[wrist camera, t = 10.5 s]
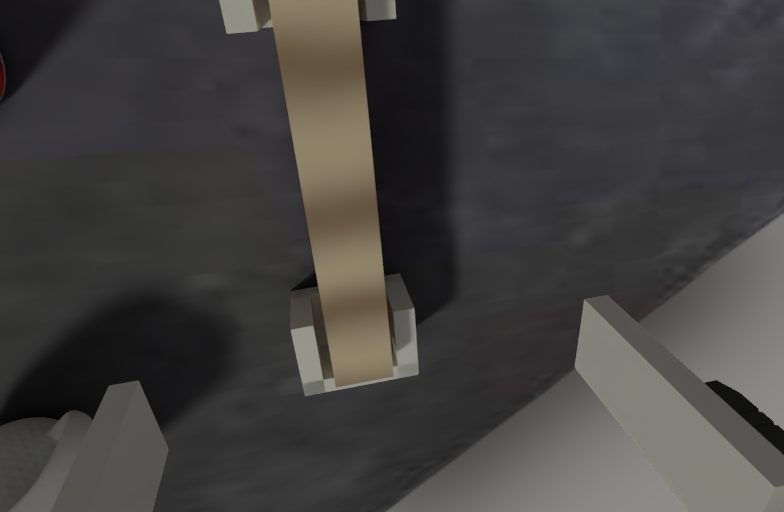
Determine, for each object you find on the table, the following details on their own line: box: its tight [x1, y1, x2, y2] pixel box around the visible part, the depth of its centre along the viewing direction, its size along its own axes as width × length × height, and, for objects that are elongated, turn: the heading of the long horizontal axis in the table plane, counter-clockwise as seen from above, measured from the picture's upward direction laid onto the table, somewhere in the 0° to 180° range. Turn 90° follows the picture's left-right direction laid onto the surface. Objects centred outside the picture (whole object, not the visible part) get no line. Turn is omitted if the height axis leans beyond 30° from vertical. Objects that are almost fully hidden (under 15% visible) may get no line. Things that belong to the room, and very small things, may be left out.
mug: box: [0, 411, 93, 512], centre depth 32 cm, size 15×11×13 cm
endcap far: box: [290, 273, 419, 396], centre depth 36 cm, size 6×8×5 cm
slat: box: [268, 0, 394, 387], centre depth 29 cm, size 25×4×6 cm, turn 5°
